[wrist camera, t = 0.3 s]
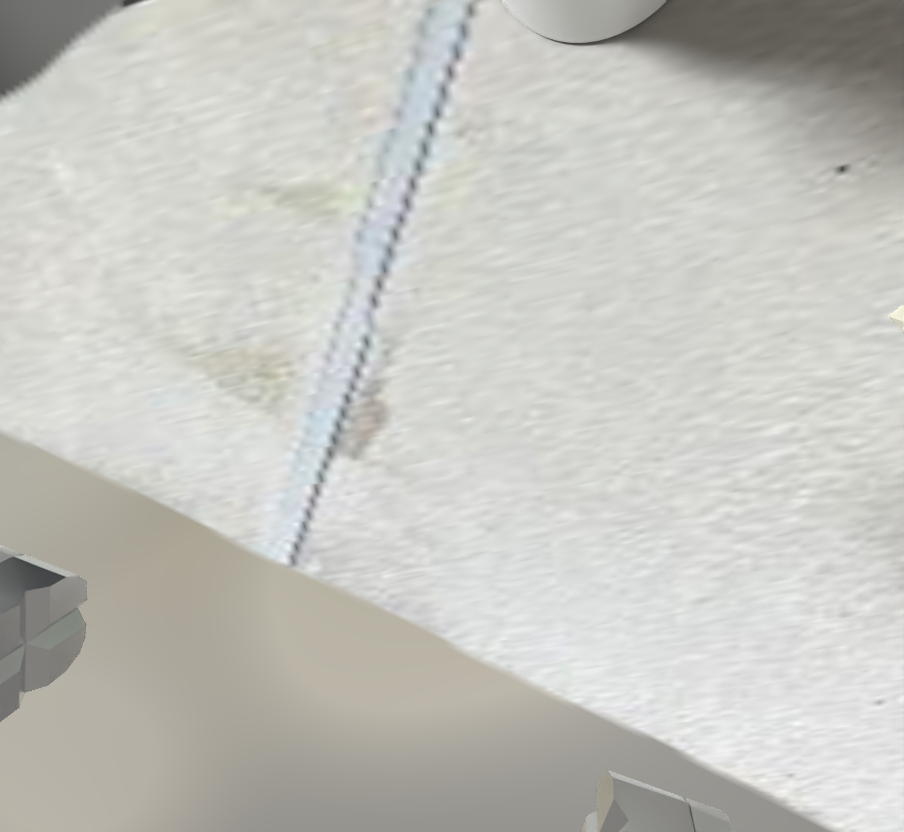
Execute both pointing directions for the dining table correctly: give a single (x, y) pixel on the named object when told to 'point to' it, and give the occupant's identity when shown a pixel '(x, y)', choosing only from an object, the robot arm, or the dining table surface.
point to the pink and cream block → (898, 317)
